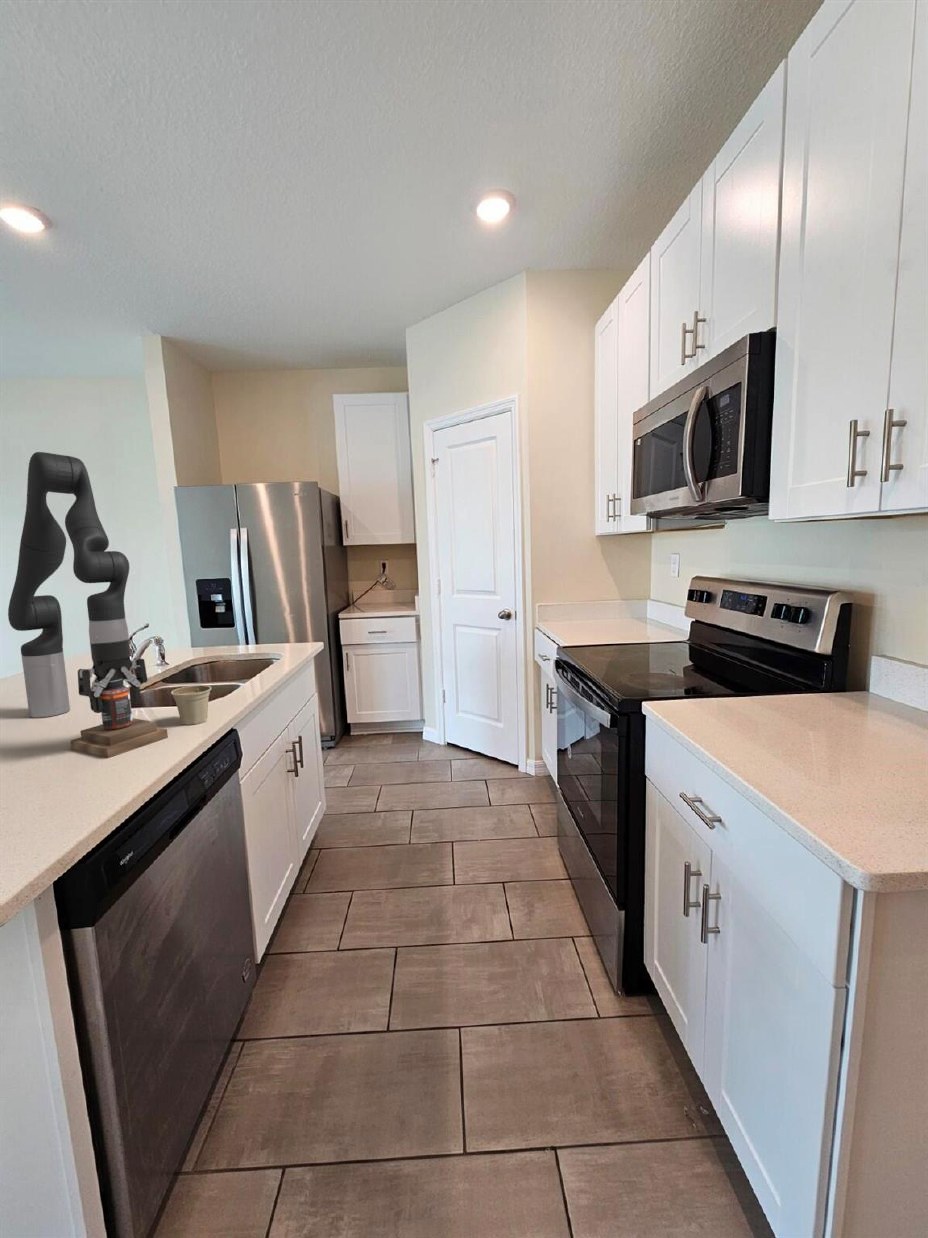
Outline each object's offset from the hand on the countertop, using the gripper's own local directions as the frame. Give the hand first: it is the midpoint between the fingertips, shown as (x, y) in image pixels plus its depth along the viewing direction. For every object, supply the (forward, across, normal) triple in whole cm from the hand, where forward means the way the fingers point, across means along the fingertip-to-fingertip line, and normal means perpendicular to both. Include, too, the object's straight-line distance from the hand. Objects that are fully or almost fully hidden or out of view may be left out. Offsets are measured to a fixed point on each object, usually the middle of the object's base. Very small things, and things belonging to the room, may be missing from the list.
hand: (116, 707), depth 126 cm
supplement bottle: (+5, 0, 0) cm, 5 cm away
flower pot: (+9, -18, +2) cm, 20 cm away
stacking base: (+9, 0, 0) cm, 9 cm away
